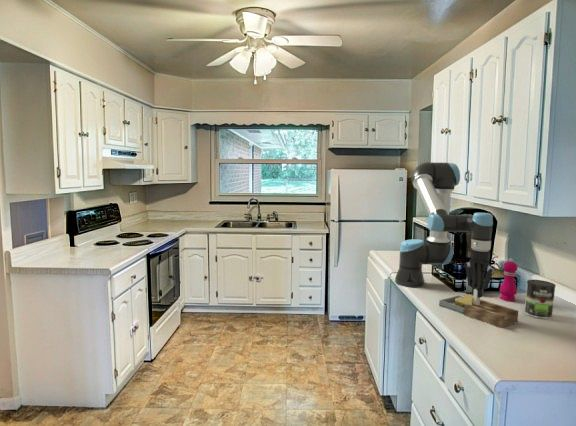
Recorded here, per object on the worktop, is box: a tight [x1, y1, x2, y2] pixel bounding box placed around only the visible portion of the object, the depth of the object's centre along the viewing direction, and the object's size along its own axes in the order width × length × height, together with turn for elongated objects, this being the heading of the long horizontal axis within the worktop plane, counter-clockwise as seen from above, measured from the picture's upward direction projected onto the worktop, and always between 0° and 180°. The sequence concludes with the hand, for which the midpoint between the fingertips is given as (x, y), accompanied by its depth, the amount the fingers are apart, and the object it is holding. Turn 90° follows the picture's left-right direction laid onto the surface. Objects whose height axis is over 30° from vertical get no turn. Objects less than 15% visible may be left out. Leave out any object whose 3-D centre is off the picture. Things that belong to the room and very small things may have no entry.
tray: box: [438, 295, 478, 315], centre depth 181 cm, size 12×14×2 cm
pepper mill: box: [499, 258, 518, 302], centre depth 192 cm, size 7×7×20 cm
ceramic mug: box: [464, 277, 484, 294], centre depth 203 cm, size 11×8×8 cm
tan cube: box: [455, 296, 465, 308], centre depth 178 cm, size 4×4×4 cm
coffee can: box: [524, 279, 556, 320], centre depth 173 cm, size 10×10×14 cm
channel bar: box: [463, 299, 519, 329], centre depth 167 cm, size 16×12×5 cm
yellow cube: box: [463, 293, 477, 306], centre depth 175 cm, size 4×4×4 cm
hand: (476, 303), depth 172 cm, fingers closed
